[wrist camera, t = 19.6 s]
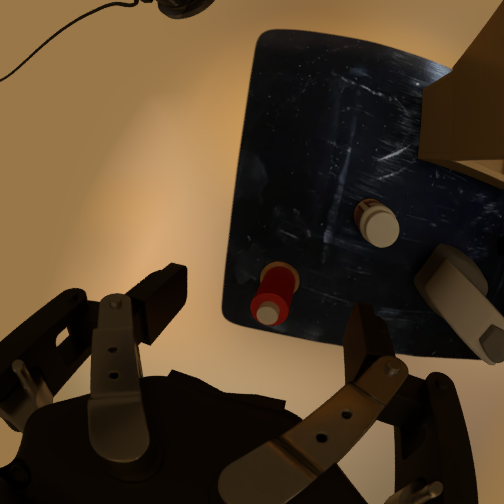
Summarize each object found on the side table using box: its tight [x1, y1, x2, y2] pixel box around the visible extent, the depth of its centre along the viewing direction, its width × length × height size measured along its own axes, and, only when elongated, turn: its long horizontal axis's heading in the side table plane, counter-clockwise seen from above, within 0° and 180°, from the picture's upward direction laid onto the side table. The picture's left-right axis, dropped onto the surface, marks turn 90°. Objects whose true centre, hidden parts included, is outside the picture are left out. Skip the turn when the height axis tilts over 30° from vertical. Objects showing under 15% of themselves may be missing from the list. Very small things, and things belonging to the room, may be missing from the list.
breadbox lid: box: [450, 0, 504, 161], centre depth 11 cm, size 18×11×1 cm
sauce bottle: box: [251, 266, 295, 326], centre depth 36 cm, size 5×5×10 cm
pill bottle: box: [354, 199, 399, 247], centre depth 31 cm, size 5×5×8 cm
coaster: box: [260, 261, 299, 293], centre depth 41 cm, size 6×6×1 cm
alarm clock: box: [414, 243, 504, 365], centre depth 26 cm, size 16×10×18 cm, turn 61°
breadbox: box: [418, 71, 504, 190], centre depth 22 cm, size 17×11×11 cm, turn 84°
